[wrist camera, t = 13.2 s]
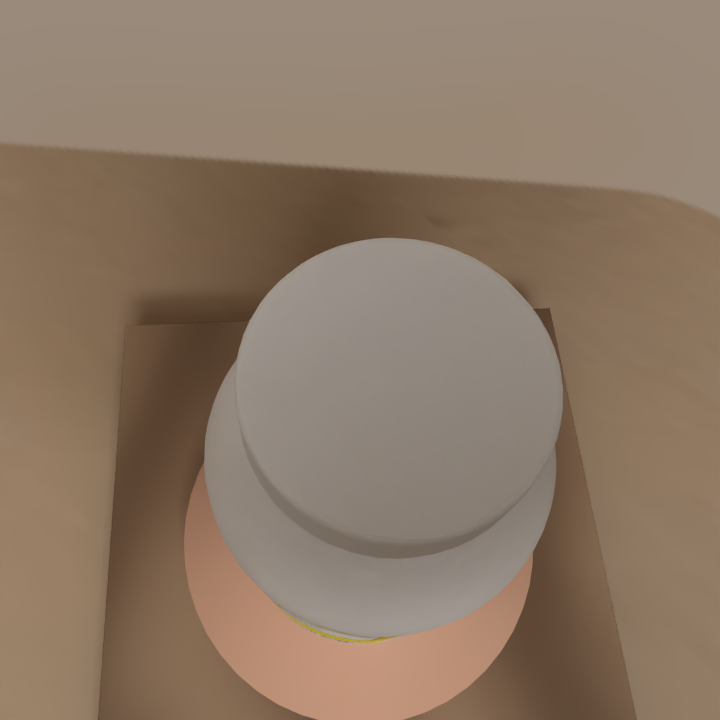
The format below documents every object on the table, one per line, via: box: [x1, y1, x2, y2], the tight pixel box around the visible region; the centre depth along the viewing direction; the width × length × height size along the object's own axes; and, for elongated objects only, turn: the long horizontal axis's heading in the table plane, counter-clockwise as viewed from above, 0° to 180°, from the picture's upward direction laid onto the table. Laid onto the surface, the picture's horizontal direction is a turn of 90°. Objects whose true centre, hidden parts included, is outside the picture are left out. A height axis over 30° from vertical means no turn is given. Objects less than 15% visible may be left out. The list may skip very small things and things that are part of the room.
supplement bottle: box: [204, 238, 563, 644], centre depth 15 cm, size 7×7×13 cm
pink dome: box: [184, 463, 533, 720], centre depth 22 cm, size 11×11×1 cm
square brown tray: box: [98, 308, 637, 720], centre depth 23 cm, size 16×16×2 cm
